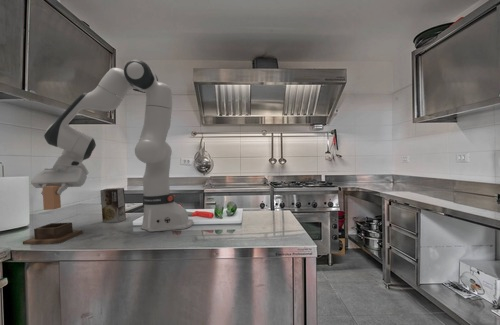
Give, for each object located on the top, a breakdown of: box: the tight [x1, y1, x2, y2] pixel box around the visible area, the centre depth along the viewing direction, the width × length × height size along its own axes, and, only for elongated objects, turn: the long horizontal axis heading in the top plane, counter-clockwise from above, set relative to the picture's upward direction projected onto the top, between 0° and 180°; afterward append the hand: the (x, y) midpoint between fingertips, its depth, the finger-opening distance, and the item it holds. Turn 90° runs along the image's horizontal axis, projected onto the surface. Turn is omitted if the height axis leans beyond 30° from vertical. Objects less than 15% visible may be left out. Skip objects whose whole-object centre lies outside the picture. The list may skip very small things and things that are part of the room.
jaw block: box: [42, 186, 62, 211], centre depth 111 cm, size 4×4×9 cm
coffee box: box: [99, 187, 127, 223], centre depth 139 cm, size 9×6×16 cm
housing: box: [22, 222, 84, 245], centre depth 111 cm, size 14×14×5 cm
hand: (50, 194), depth 110 cm, fingers closed on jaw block, 4 cm apart
